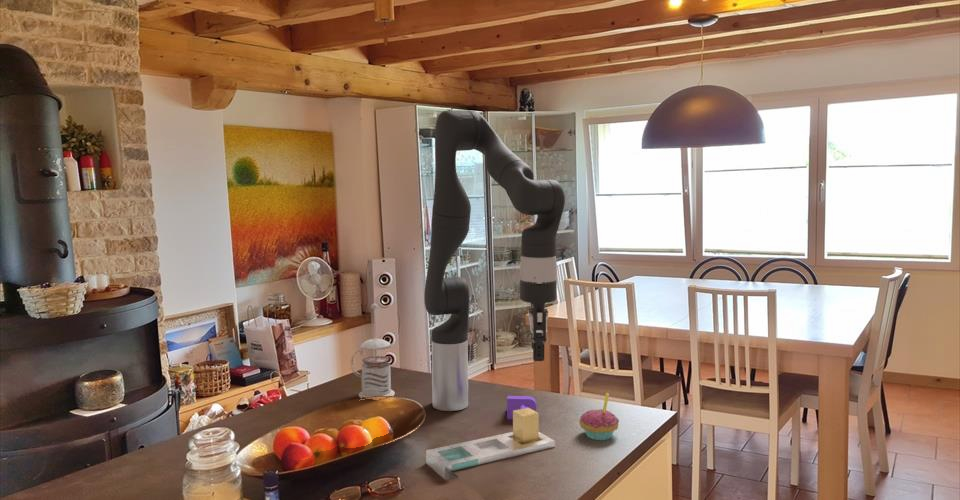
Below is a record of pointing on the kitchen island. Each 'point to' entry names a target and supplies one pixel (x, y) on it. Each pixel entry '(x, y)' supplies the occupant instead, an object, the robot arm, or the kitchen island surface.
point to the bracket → (519, 404)
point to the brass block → (525, 426)
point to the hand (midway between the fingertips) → (537, 354)
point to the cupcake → (599, 422)
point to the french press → (375, 368)
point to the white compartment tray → (480, 452)
